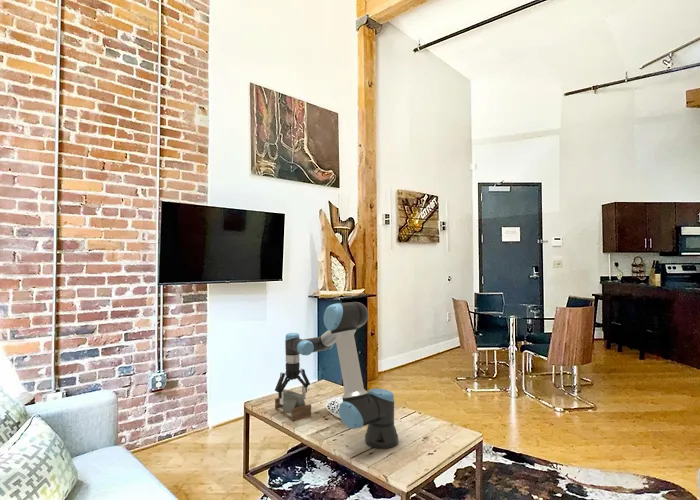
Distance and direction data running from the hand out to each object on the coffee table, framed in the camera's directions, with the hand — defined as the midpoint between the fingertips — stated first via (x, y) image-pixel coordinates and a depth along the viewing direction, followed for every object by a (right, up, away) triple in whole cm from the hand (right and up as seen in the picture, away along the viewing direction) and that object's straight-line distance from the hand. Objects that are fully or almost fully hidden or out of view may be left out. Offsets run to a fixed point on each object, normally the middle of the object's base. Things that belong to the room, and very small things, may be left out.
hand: (293, 401), depth 221 cm
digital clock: (0, -5, +1) cm, 5 cm away
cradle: (0, -6, 0) cm, 6 cm away
